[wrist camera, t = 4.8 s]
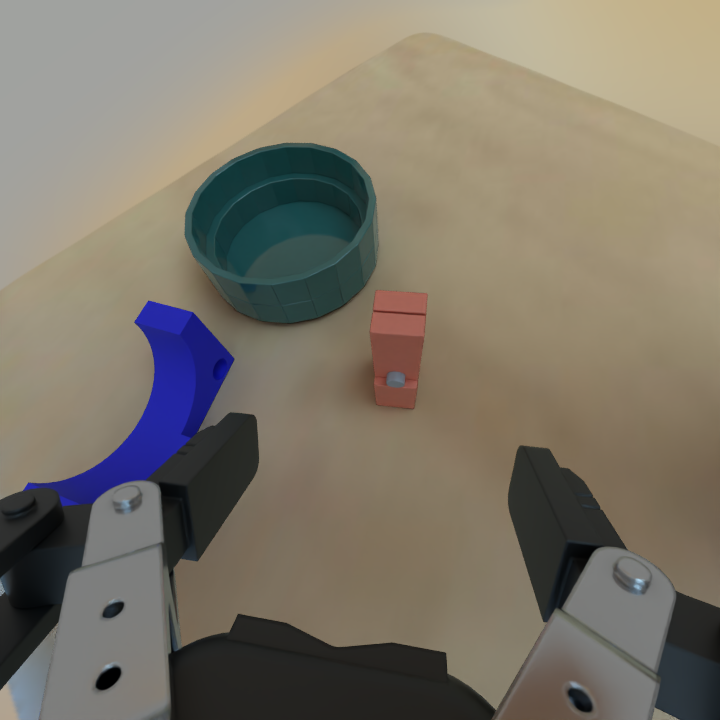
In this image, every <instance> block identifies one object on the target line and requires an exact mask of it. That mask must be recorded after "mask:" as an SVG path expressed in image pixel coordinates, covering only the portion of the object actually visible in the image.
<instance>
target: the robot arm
mask: <svg viewBox="0 0 720 720" xmlns="http://www.w3.org/2000/svg"><path fill="white" fill-rule="evenodd" d="M258 463H259V449H258V433H257V420H256V417H255V416H254V415H251V414H242V413H233V412H230V413H229V414H227V415H226V416H225V417H224V418H223V419H222V420H221V421H220V422H219V423H218V424H217V425H216V426H210V427H208V428H206V429H204V430H202V431H200V432H198V433H196V434H195V435H194V436H193V437H192V438H191V439H190V440H189V441H188V442H186V445H183V446H182V447H181V448H180V449H179V450H178V451H177V453H176V454H175V453H174V454H173V455H172V456H171V457H170V458H169V459H168V460H167V461H166V462H165V463H164V464H163V465H161V466H160V467H159V468H158V469H157V470H156V471H155V472H154V473H153V474H152V475H151V476H149V477H148V478H147V479H146V480H138V481H131V482H127V483H123V484H120V485H118V486H115V487H113V488H111V489H109V490H108V491H106V492H104V493H103V494H102V495H101V496H99V497H98V498H97V499H96V501H95V502H94V503H90V504H79V505H69V506H62V504H61V501H60V497H59V494H58V492H57V491H55V490H53V489H50V488H35V489H29V490H25V491H21V492H18V493H15V494H12V495H10V496H8V497H5V498H3V499H1V500H0V580H1V582H2V585H3V587H4V590H5V593H4V594H2V595H1V596H0V690H1V689H2V688H3V686H4V685H5V684H6V683H7V682H8V681H9V679H10V678H11V677H12V676H13V675H14V674H15V672H16V671H17V670H18V669H19V668H20V666H21V665H22V664H23V663H24V662H25V661H26V659H27V658H28V657H29V656H30V655H31V654H32V652H33V651H34V650H35V649H36V648H37V647H38V645H39V644H40V643H41V642H42V641H43V640H44V638H45V637H46V636H47V635H48V634H49V632H50V631H51V630H52V629H53V628H54V627H55V625H56V624H57V623H58V622H59V623H58V628H57V632H56V637H55V642H54V647H53V652H52V657H51V662H50V667H49V672H48V677H47V681H46V686H45V691H44V696H43V701H42V706H41V711H40V716H39V720H652V716H653V712H654V708H657V709H659V710H661V711H663V712H666V713H668V714H670V715H672V716H674V717H676V718H678V719H680V720H720V608H718V607H716V606H713V605H710V604H708V603H705V602H702V601H700V600H697V599H694V598H692V597H689V596H686V595H684V594H682V593H679V592H677V591H675V589H674V586H673V584H672V583H671V581H670V580H669V579H668V577H667V576H666V575H665V574H664V573H663V572H662V571H661V570H660V569H659V568H658V567H656V566H655V565H654V564H653V563H651V562H650V561H648V560H647V559H645V558H643V557H641V556H640V555H638V554H635V553H633V552H631V551H628V550H627V548H626V547H625V545H624V543H623V542H622V540H621V539H620V537H619V536H618V534H617V532H616V531H615V529H614V528H613V526H612V525H611V523H610V521H609V520H608V518H607V517H606V515H605V514H604V512H603V510H600V506H599V504H598V503H597V501H596V499H595V498H593V495H592V493H591V492H590V490H589V489H588V487H587V485H586V484H585V482H584V481H583V480H582V479H580V478H579V477H578V476H577V475H576V474H574V473H573V472H572V471H571V470H570V469H568V468H560V467H559V465H558V463H557V462H556V460H555V458H554V456H553V455H552V453H551V451H550V450H549V449H547V448H539V447H530V446H519V448H518V450H517V454H516V458H515V463H514V468H513V473H512V477H511V482H510V487H509V493H508V505H509V512H510V515H511V518H512V522H513V525H514V528H515V531H516V535H517V538H518V541H519V544H520V548H521V551H522V554H523V557H524V561H525V564H526V567H527V570H528V574H529V577H530V580H531V583H532V587H533V590H534V593H535V596H536V600H537V603H538V606H539V609H540V613H541V616H542V619H543V622H547V624H546V625H545V627H544V629H543V631H542V632H541V634H540V636H539V638H538V639H537V641H536V643H535V644H534V646H533V648H532V650H531V651H530V653H529V655H528V657H527V658H526V660H525V662H524V663H523V665H522V667H521V669H520V670H519V672H518V674H517V676H516V677H515V679H514V681H513V683H512V684H511V686H510V688H509V689H508V691H507V693H506V695H505V696H504V698H503V700H502V702H501V703H500V705H499V707H498V709H497V710H495V709H494V708H493V707H492V706H491V705H490V704H489V703H488V702H487V701H486V700H485V699H484V698H483V697H482V696H481V695H479V694H478V693H477V692H476V691H474V690H473V689H472V688H471V687H469V686H468V685H466V684H465V683H463V682H462V681H460V680H459V679H457V678H455V677H453V676H451V675H449V674H447V660H446V653H445V652H440V651H434V650H429V649H424V648H418V647H413V646H407V645H402V644H397V643H383V644H371V645H360V646H349V647H334V646H331V645H329V644H327V643H325V642H323V641H321V640H319V639H317V638H315V637H313V636H311V635H309V634H307V633H305V632H303V631H301V630H299V629H297V628H295V627H293V626H291V625H289V624H287V623H284V622H278V621H273V620H268V619H262V618H257V617H252V616H246V615H241V614H238V615H237V617H236V620H235V622H234V624H233V626H232V628H231V630H230V632H228V633H221V634H217V635H212V636H209V637H206V638H203V639H200V640H197V641H195V642H193V643H190V644H188V645H186V646H184V647H182V643H181V634H180V623H179V612H178V601H177V590H176V580H175V572H174V567H175V566H176V564H177V563H178V562H179V560H180V559H186V560H192V561H198V560H199V559H200V557H201V556H202V554H203V553H204V551H205V550H206V548H207V547H208V545H209V544H210V542H211V541H212V539H213V538H214V536H215V535H216V533H217V532H218V530H219V529H220V527H221V526H222V524H223V523H224V521H225V520H226V518H227V517H228V515H229V514H230V512H231V511H232V509H233V508H234V506H235V505H236V503H237V502H238V500H239V499H240V497H241V496H242V494H243V493H244V491H245V490H246V488H247V487H248V485H249V484H250V482H251V481H252V479H253V478H254V476H255V474H256V472H257V468H258Z"/></svg>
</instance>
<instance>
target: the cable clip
mask: <svg viewBox="0 0 720 720" xmlns="http://www.w3.org/2000/svg"><path fill="white" fill-rule="evenodd" d="M134 323H135V324H137V325H138V326H139V327H140V329H141V330H142V331H143V332H144V334H145V336H146V337H147V339H148V341H149V343H150V346H151V349H152V352H153V357H154V365H155V373H154V383H153V388H152V392H151V396H150V399H149V402H148V404H147V407H146V409H145V411H144V413H143V415H142V417H141V419H140V421H139V422H138V424H137V426H136V427H135V429H134V430H133V431H132V433H131V434H130V435H129V437H128V438H127V439H126V440H125V441H124V442H123V444H122V445H121V446H120V447H119V448H118V449H117V450H116V451H115V452H113V453H112V454H111V455H110V456H109V457H108V458H106V459H105V460H104V461H102V462H101V463H99V464H98V465H96V466H95V467H93V468H91V469H90V470H88V471H86V472H84V473H82V474H79V475H77V476H75V477H72V478H69V479H66V480H62V481H58V482H52V483H28V484H27V486H26V487H25V489H24V490H23V491H25V490H29V489H35V488H50V489H53V490H55V491H57V492H58V494H59V497H60V501H61V504H62V506H69V505H79V504H90V503H94V502H95V501H96V499H97V498H98V497H99V496H101V495H102V494H103V493H104V492H106V491H108V490H109V489H111V488H113V487H115V486H118V485H120V484H123V483H127V482H131V481H138V480H146V479H147V478H148V477H149V476H151V475H152V474H153V473H154V472H155V471H156V470H157V469H158V468H159V467H160V466H161V465H163V464H164V463H165V462H166V461H167V460H168V459H169V458H170V457H171V456H172V455H173V454H174V453H175V454H176V453H177V451H178V450H179V449H180V448H181V447H182V446H183V445H186V442H188V441H189V440H190V439H191V438H192V437H193V436H194V435H195V434H196V433H197V431H198V429H199V427H200V425H201V424H202V422H203V420H204V418H205V416H206V414H207V412H208V410H209V408H210V406H211V404H212V402H213V400H214V398H215V396H216V394H217V392H218V390H219V388H220V386H221V384H222V382H223V381H224V379H225V377H226V375H227V373H228V371H229V369H230V367H231V365H232V363H233V361H234V358H233V357H232V356H231V354H230V353H229V352H228V351H227V350H226V349H225V348H224V347H223V345H222V344H221V343H220V342H219V341H218V340H217V339H216V338H215V336H214V335H213V334H212V333H211V332H210V331H209V330H208V328H207V327H206V326H205V325H204V324H203V323H202V322H201V321H200V319H199V318H198V317H197V316H196V315H195V314H194V313H193V312H190V311H186V310H182V309H179V308H175V307H171V306H167V305H163V304H160V303H156V302H152V301H148V302H147V304H146V305H145V307H144V308H143V310H142V311H141V313H140V314H139V316H138V317H137V319H136V320H135V322H134Z"/></svg>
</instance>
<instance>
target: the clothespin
mask: <svg viewBox="0 0 720 720" xmlns="http://www.w3.org/2000/svg"><path fill="white" fill-rule="evenodd" d="M426 309H427V293H413V292H397V291H382V290H376V292H375V299H374V306H373V313H372V320H371V326H370V338H371V347H372V355H373V364H374V372H375V380H374V389H375V397H376V404H377V405H382V406H392V407H401V408H411V409H414V407H415V400H416V394H417V386H418V376H419V370H420V363H421V356H422V349H423V342H424V335H425V322H426Z"/></svg>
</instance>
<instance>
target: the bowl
mask: <svg viewBox="0 0 720 720" xmlns="http://www.w3.org/2000/svg"><path fill="white" fill-rule="evenodd" d="M185 238H186V241H187V243H188V245H189V248H190V250H191V252H192V255H193V257H194V258H195V259H196V261H197V262H198V264H199V265H200V266H201V268H202V269H203V271H204V272H205V274H206V275H207V276H208V278H209V279H210V281H211V282H212V283H213V285H214V286H215V288H216V289H217V290H218V292H219V293H220V295H221V296H222V297H223V298H224V299H225V300H226V301H227V302H228V303H229V304H230V305H231V306H233V307H234V308H235V309H236V310H237V311H238V312H240V313H243V314H245V315H248V316H250V317H252V318H255V319H257V320H260V321H267V322H279V323H294V322H299V321H304V320H310V319H315V318H318V317H321V316H323V315H325V314H327V313H329V312H331V311H333V310H335V309H337V308H339V307H341V306H343V304H346V303H347V302H348V301H349V300H350V299H351V298H352V297H353V296H354V295H355V294H357V293H358V292H359V291H360V290H361V289H362V288H363V287H364V286H365V284H366V282H367V280H368V279H369V277H370V275H371V273H372V272H373V270H374V268H375V266H376V261H377V254H378V247H379V241H378V222H377V203H376V195H375V192H374V188H373V185H372V181H371V178H370V176H369V175H368V174H367V173H366V172H365V170H364V169H363V168H362V167H361V166H360V164H359V163H358V162H357V161H356V160H354V159H353V158H351V157H349V156H347V155H346V154H344V153H342V152H340V151H339V150H337V149H334V148H330V147H326V146H322V145H318V144H314V143H282V144H277V145H272V146H267V147H262V148H258V149H255V150H253V151H250V152H248V153H246V154H243V155H241V156H238V157H236V158H234V159H232V160H231V161H229V162H228V163H226V164H225V165H223V166H222V167H220V168H219V169H218V170H216V171H215V172H213V173H212V174H211V175H210V176H209V177H208V178H207V179H206V180H205V182H204V183H203V184H202V185H201V186H200V187H199V188H198V190H197V191H196V192H195V193H194V196H193V198H192V200H191V202H190V205H189V207H188V209H187V211H186V214H185Z"/></svg>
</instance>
